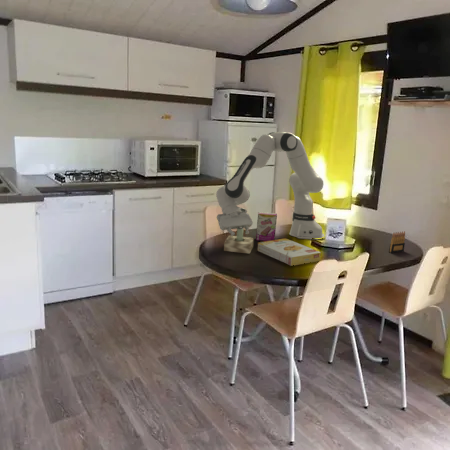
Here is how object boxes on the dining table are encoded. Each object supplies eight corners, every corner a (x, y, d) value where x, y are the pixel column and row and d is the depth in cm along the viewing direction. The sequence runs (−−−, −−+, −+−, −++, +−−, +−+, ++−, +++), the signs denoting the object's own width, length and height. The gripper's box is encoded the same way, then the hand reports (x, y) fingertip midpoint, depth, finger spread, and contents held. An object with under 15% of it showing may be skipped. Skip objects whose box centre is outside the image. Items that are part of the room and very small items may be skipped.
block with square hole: (253, 246, 249) (253, 238, 248) (249, 253, 235) (250, 244, 234) (228, 243, 251) (229, 235, 250) (223, 250, 238) (224, 241, 237)
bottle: (242, 248, 245) (244, 226, 242) (241, 249, 241) (243, 228, 239) (236, 247, 245) (237, 226, 243) (235, 249, 242) (236, 227, 239)
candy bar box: (255, 240, 261) (257, 213, 257) (255, 238, 266) (258, 211, 262) (274, 242, 260) (277, 214, 257) (274, 240, 265) (277, 213, 261)
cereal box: (285, 237, 252) (322, 250, 229) (284, 247, 253) (321, 261, 230) (257, 242, 240) (292, 256, 218) (256, 251, 242) (292, 267, 219)
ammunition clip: (391, 253, 252) (394, 232, 250) (388, 252, 254) (391, 231, 251) (403, 251, 258) (407, 231, 255) (401, 250, 259) (404, 230, 257)
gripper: (218, 211, 238) (227, 233, 233) (248, 208, 250) (258, 229, 244) (213, 217, 243) (222, 239, 237) (243, 215, 254) (252, 235, 249)
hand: (240, 234), depth 241 cm, fingers open, 8 cm apart
